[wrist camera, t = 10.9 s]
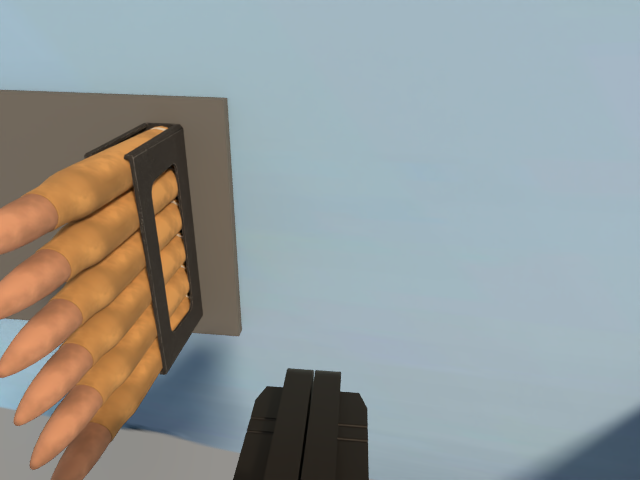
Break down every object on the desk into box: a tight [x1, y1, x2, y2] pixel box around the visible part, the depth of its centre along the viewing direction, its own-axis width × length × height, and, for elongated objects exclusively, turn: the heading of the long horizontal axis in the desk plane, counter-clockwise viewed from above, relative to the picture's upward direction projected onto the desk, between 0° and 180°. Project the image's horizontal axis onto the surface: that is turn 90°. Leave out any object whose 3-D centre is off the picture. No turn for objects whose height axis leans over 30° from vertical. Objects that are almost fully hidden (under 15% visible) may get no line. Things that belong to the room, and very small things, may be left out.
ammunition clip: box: [0, 123, 203, 480], centre depth 18 cm, size 11×2×12 cm, turn 179°
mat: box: [0, 90, 242, 336], centre depth 24 cm, size 16×13×1 cm
